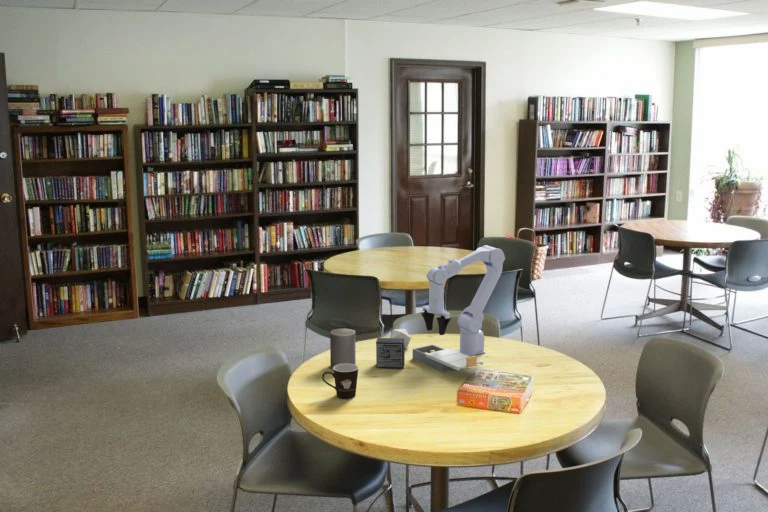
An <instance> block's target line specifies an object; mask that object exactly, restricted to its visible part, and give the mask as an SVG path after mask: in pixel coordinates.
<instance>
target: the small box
mask: <svg viewBox="0 0 768 512" xmlns="http://www.w3.org/2000/svg"><path fill="white" fill-rule="evenodd" d="M375 344H376V345H375V346H376V347H375V348H376V349H375V350H376V352H375V353H376V355H375V358H376V361H375V362H376V367H375V368H376V369H390V370H391V369H392V370H393V369H395V370H403V369H404V368H405V364H406V362H405V351H406V349H404V338H390V337H377V338H376V341H375Z"/></svg>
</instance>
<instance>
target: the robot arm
mask: <svg viewBox="0 0 768 512" xmlns="http://www.w3.org/2000/svg"><path fill="white" fill-rule="evenodd" d="M505 260H506V255H505V254H504V251H503V250H502V249H501V248H496V247H494V246H490V245H487V244H485V245H482V246H481V247H477V248H476V250H474V251H472V252H470V253H469V254H467V255H465V256H463V257H461V258H460V259H458V260H457V259H455V258H454V259H452V258H450V259H448V261H447V262H445V263H442V264H439V265H438V266H437V267H436V266H433V267H431V268H430V269H429V270H428V271H427V274H426V279H427V280H428V286H429V287H428V289H429V291H428V305H427V304H426V305H422V311H423V312H421V317H422V318H423V320H424V323H425V328H426V330H427V331H433V328H434V327H433V326H434V325H433V324H434V317H435V316H438V317H436V320H437V324H438V334H439V336H443V335H445V334H446V331H447V327H448V325H449V323H450V322H451V319H452V317H451V313H450V312H448V311H447V310H446V309H445V308H444V305H445V304H444V303H445V301H444V299H445V297H444V296H445V283H446V282H447V280H448V279H450V278H451V277H453V276H455V275H458V274H459V273H461V271H462V269H463V268H465V267H468V266H470V265H472V264H474V263H477V262H482V263H483V264H484V266H485V268H486V272H485V275H484V277H483V279H482V281H481V283H480V285H479V287H478V289H477V291H476V293H475V295H474V297H473V298H472V301H471V303H470V305H469V306H467V307H465V308H464V309H463V311H462V312H461V313H460V314H459V315H458V317H457V319H456V321H457V322H456V323H457V325H458V327H459V330H460V331H459V349H455V351H457V352H460V353H462V354H465V355H467V356H474V355H475V356H477V355H481V354H485V353H486V351H485V334H484V331H482V330H481V329H482V325H483V321H484V318H485V317H484V314H483V311H484V310H485V307H486V305H487V304H488V301H489V299H490V297H491V296H492V293H493V291H494V290H495V288H496V285H497V283H498V281H499V279H500V277H501V275H502V273H503V267H504V266H503V265H504V262H505Z"/></svg>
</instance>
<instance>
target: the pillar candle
mask: <svg viewBox="0 0 768 512" xmlns="http://www.w3.org/2000/svg"><path fill="white" fill-rule="evenodd" d="M329 336H330V337H329V344H330V346H329V348H330V349H329V350H330V360H329V361H330V365H329V366H330V368H331V369H332V370H333V367H334V366H335V365H338V364H354V365H357V364H356V358H357V357H356V352H357V351H356V330H354V329H351V328H345V327H344V328H336V329H335V328H334V329H332V330H331V331H330V333H329Z"/></svg>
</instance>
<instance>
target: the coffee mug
mask: <svg viewBox="0 0 768 512" xmlns="http://www.w3.org/2000/svg"><path fill="white" fill-rule="evenodd" d="M326 374H330V375H331V376H332V378H333V380H334V385H335V386H334V385H333V384H331V383H329V382H327V381H326V379H325V378H324V377H325V375H326ZM358 376H359V366H358V365H357V364H356V365H354V364H338V365H335V366H334V367H333V369H332V372H331V371H325V372H323V374H322V377H321V379H322V381H323V382H324V383H325V384H326V385H328V386H329V387H332V388H333V389H334V390H335V392H336V397H337V398H338V399H341V400H350V399H351V400H352V399H354V398H355V397H356V394H357V384H358Z"/></svg>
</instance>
